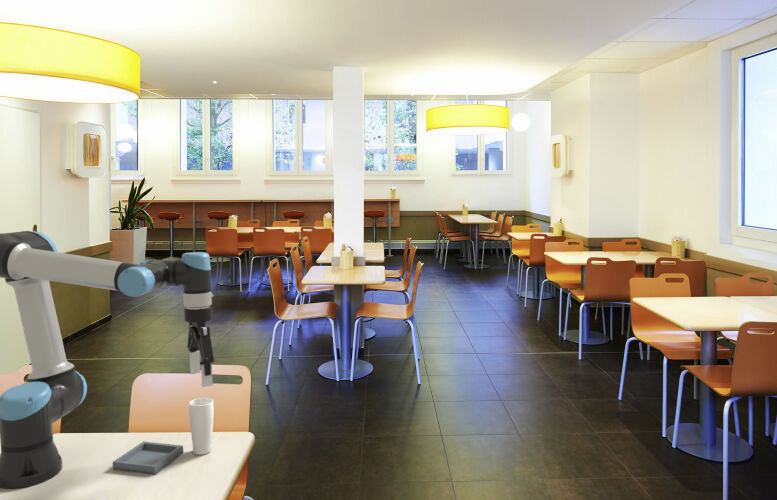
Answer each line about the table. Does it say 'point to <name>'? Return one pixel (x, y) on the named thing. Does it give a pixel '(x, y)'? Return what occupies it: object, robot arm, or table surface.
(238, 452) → the table surface
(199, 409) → the white cup
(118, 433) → the table surface
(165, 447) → the grey tray
